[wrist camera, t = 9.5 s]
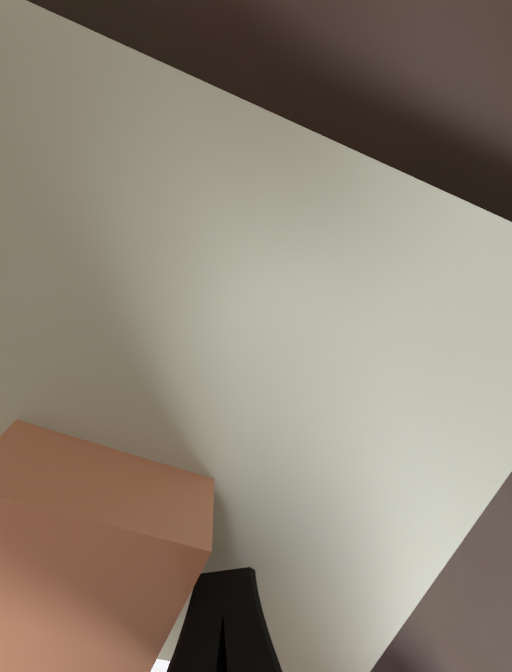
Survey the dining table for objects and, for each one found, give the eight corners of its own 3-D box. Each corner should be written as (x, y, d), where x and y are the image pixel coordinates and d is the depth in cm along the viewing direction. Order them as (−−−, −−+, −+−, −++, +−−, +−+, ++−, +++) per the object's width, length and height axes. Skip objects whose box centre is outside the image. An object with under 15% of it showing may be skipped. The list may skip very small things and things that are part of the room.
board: (567, 266, 10) (644, 282, 8) (338, 626, 14) (355, 691, 12) (-4, 11, 8) (-79, -48, 6) (-81, 542, 12) (-139, 609, 10)
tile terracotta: (214, 478, 9) (211, 552, 7) (152, 607, 11) (136, 697, 9) (15, 419, 8) (-45, 484, 6) (-26, 568, 10) (-86, 659, 8)
